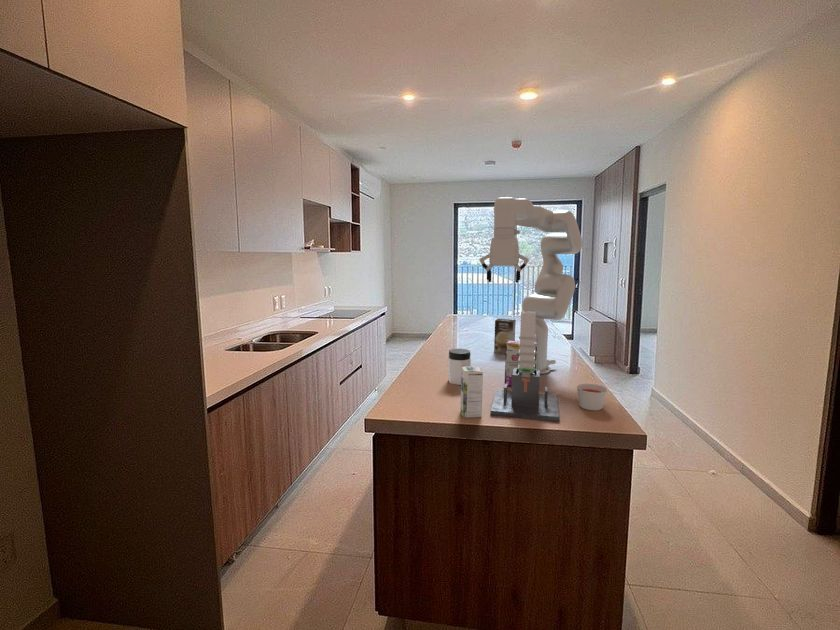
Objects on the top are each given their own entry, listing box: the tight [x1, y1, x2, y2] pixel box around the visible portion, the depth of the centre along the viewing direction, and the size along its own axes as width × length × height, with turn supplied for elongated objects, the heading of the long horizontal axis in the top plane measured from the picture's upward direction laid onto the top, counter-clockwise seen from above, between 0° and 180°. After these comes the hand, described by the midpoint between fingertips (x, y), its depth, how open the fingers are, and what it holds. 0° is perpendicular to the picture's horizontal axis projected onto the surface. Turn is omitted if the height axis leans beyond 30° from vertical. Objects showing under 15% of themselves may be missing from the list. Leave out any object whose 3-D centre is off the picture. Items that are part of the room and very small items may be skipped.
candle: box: [576, 383, 608, 411], centre depth 138 cm, size 9×9×6 cm
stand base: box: [490, 368, 560, 423], centre depth 138 cm, size 20×20×13 cm
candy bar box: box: [504, 340, 538, 387], centre depth 159 cm, size 11×5×16 cm, turn 71°
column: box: [518, 310, 536, 375], centre depth 136 cm, size 5×5×22 cm
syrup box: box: [460, 365, 484, 419], centre depth 132 cm, size 6×6×14 cm
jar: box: [447, 348, 472, 386], centre depth 164 cm, size 9×8×12 cm
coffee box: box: [493, 318, 517, 355], centre depth 209 cm, size 9×6×16 cm
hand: (503, 282), depth 155 cm, fingers open, 9 cm apart
